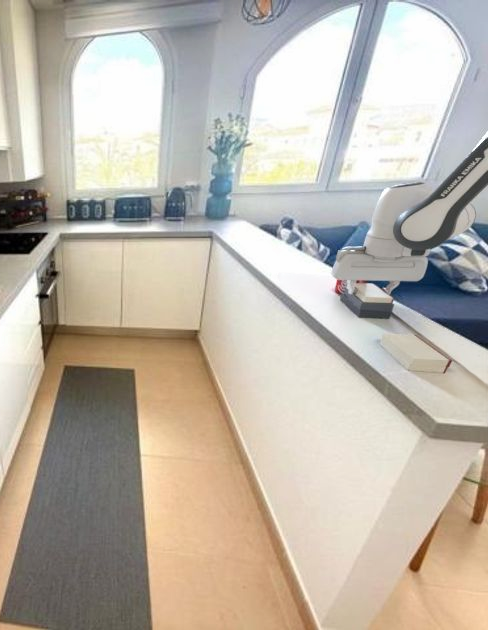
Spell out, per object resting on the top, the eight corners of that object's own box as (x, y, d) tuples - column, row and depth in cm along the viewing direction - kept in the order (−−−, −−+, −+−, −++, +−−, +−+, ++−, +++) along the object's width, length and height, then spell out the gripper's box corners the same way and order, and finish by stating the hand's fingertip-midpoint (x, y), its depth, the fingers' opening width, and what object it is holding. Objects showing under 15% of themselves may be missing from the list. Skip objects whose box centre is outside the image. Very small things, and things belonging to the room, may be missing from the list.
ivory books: (413, 346, 82) (418, 334, 80) (446, 374, 72) (452, 361, 71) (377, 344, 84) (381, 332, 82) (405, 371, 74) (410, 358, 72)
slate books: (369, 301, 104) (373, 287, 102) (392, 319, 94) (398, 304, 92) (338, 300, 106) (342, 286, 105) (357, 317, 96) (362, 303, 94)
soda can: (363, 300, 105) (376, 263, 100) (335, 298, 108) (346, 261, 103) (357, 292, 111) (369, 256, 105) (331, 289, 113) (341, 254, 108)
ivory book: (371, 288, 102) (373, 283, 101) (392, 303, 93) (394, 297, 92) (345, 287, 104) (347, 282, 103) (363, 302, 94) (365, 297, 94)
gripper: (344, 249, 92) (330, 297, 98) (438, 249, 87) (418, 299, 93) (334, 243, 97) (322, 289, 103) (422, 243, 92) (404, 291, 98)
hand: (368, 294), depth 98 cm, fingers closed on ivory book, 6 cm apart
